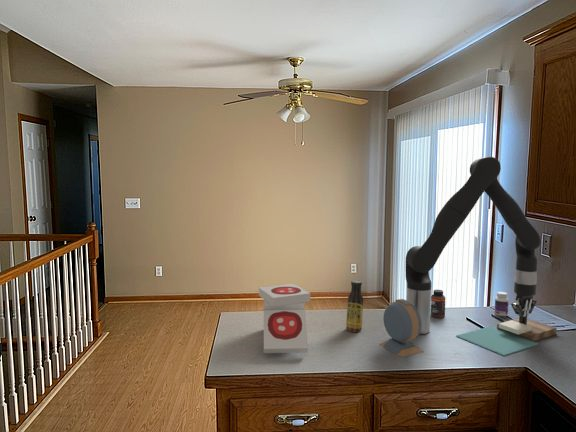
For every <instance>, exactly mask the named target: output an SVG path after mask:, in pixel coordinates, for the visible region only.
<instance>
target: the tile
mask: <svg viewBox="0 0 576 432" xmlns="http://www.w3.org/2000/svg"><path fill="white" fill-rule="evenodd" d="M510 320H511V321H509V320H506V321H507V322H506V321H502V322H503V323H502V322H499V323H500V324H499V328H501V329H504V330H507V331H510V332H513V333H515V334H522V333H525V332H528V331H531V326H528V325H525V324H522V323H519V322H516V321H513V319H510Z"/></svg>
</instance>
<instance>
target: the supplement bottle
mask: <svg viewBox="0 0 576 432" xmlns="http://www.w3.org/2000/svg"><path fill="white" fill-rule="evenodd" d="M432 293H433V294H431V307H430V317H431V316H432V317H433V318H437V319H440V318H441V319H442V318H444V317H446V296H445V295H444V290H442V289H433V292H432Z"/></svg>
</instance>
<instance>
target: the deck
mask: <svg viewBox="0 0 576 432" xmlns="http://www.w3.org/2000/svg"><path fill="white" fill-rule="evenodd" d="M511 320H513V321H516V322H519V317H517V318H514V319H509V320H506V321H505V322H507V321H511ZM503 322H504V321H502V322H499V323H497V326H496V329H499V330H502V331H505V332H508V333H510V334H513V335H516V336H519V337H522V338H524V339H527V340H530V341H533V342H536V341H538V340H541V339H545V338H548V337H552V336H555V335H556V334H557V327H555V326H552V325H549V324H545V323H542V322H539V321H535V320H532V319H530V318H527V325H528V326H531V331H528V332H525V333H522V334H515V333H513V332H510V331H507V330H504V329H501V328H499V324H500V323H503Z"/></svg>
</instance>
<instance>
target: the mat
mask: <svg viewBox="0 0 576 432" xmlns="http://www.w3.org/2000/svg"><path fill="white" fill-rule="evenodd" d="M455 337H457V338H459V339H462V340H464V341H466V342H469V343H471V344H474V345H475V346H478V347H480V348H484V349H486V350H488V351H490V352H493V353H495V354H498V355H500V356H503V357H506V356H509V355H511V354H512V355H513V354H515V353H518V352H520V351H524V350H527V349H531V348H534V347H536V346H539V345H540V344H539V343H538V342H536V341H530V340H527V339H524V338H522V337H519V336H516V335H513V334H510V333H508V332H505V331H502V330H499V329H497V327H493V326H490V325H489V326H487V327H482V328H480V329H475V330H471V331H468V332H465V333H464V332H463V333H460V334H456V336H455Z"/></svg>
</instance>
